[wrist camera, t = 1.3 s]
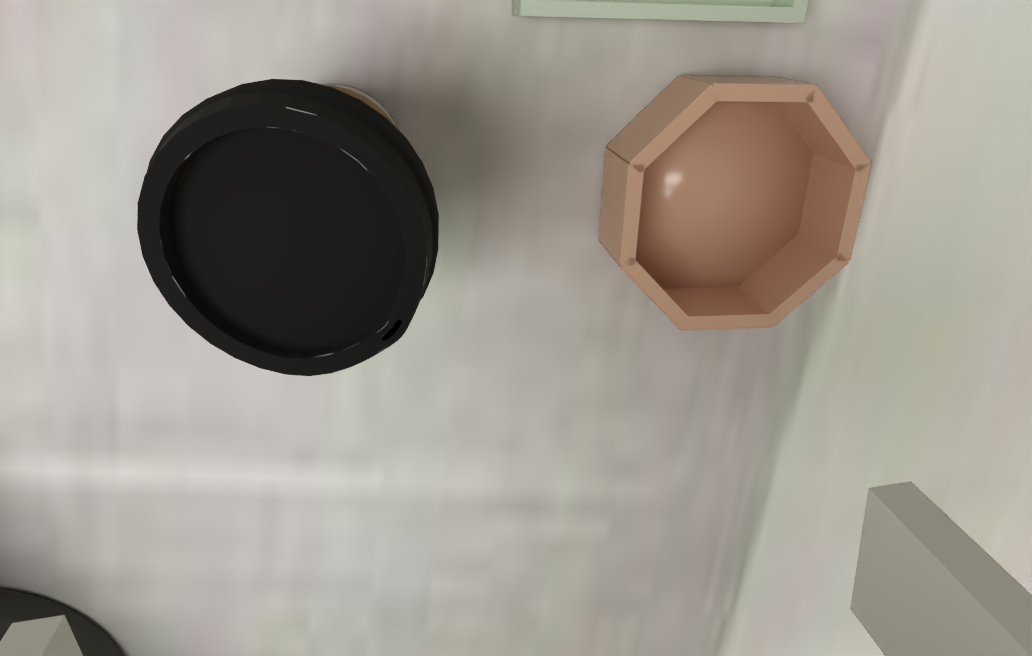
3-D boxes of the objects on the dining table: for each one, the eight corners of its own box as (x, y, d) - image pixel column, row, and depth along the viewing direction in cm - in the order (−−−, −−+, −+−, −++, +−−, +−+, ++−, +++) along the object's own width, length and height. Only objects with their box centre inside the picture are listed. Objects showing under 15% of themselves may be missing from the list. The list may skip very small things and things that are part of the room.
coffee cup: (356, 274, 35) (321, 441, 22) (202, 161, 32) (49, 272, 19) (467, 142, 33) (505, 234, 20) (315, 9, 30) (237, 10, 17)
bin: (592, 298, 37) (614, 332, 34) (608, 73, 33) (635, 82, 29) (793, 293, 39) (835, 325, 35) (834, 77, 34) (888, 85, 31)
